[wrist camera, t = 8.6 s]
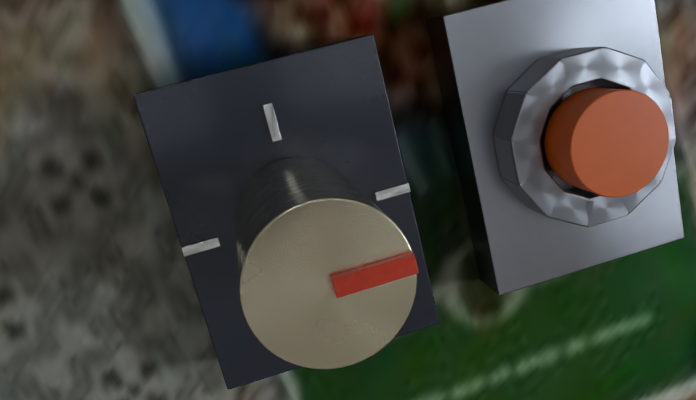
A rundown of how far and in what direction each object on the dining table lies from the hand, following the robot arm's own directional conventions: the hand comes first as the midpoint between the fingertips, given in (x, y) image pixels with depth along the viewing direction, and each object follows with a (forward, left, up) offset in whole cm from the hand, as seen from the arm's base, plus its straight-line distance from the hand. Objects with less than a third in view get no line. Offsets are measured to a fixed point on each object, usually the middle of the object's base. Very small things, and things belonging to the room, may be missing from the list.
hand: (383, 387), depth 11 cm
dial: (0, 0, -14) cm, 14 cm away
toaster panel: (0, 0, -17) cm, 17 cm away
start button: (0, +12, -14) cm, 18 cm away
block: (0, +12, -17) cm, 21 cm away
